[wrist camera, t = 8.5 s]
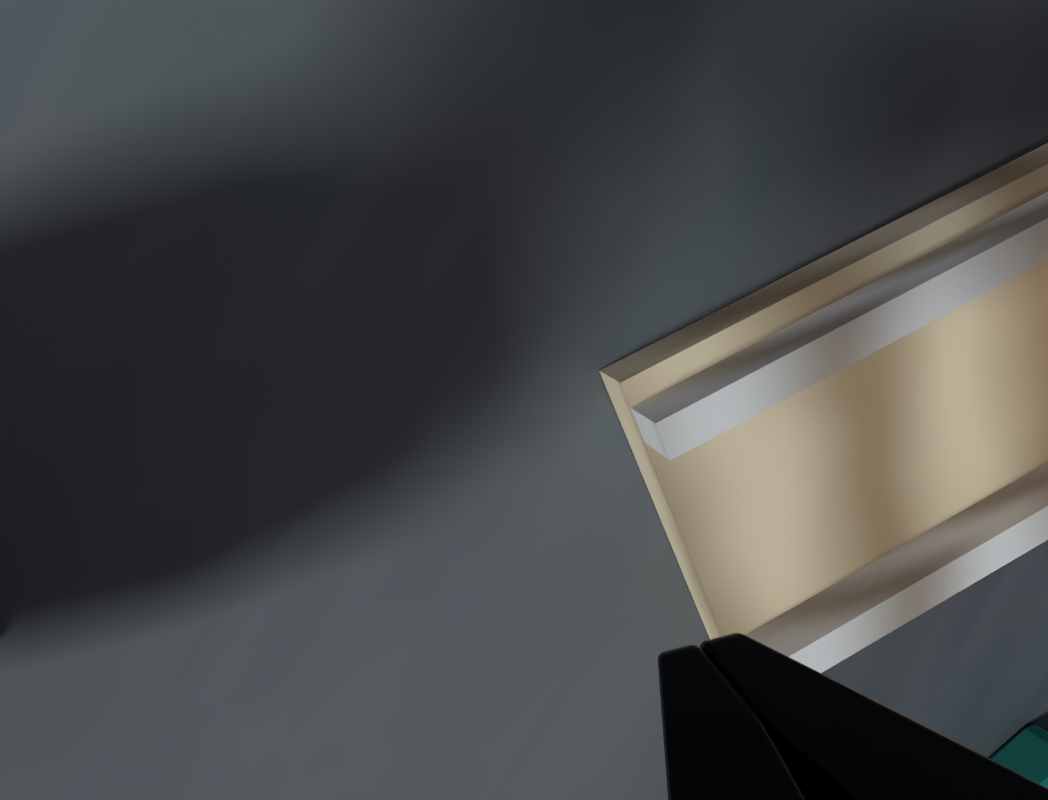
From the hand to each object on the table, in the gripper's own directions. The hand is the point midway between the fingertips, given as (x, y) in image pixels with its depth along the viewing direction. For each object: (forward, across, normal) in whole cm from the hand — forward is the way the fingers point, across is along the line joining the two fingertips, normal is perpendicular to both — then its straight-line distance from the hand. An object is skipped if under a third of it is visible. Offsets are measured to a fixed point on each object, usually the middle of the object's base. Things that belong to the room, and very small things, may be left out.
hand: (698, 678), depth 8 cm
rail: (+14, -15, +4) cm, 21 cm away
